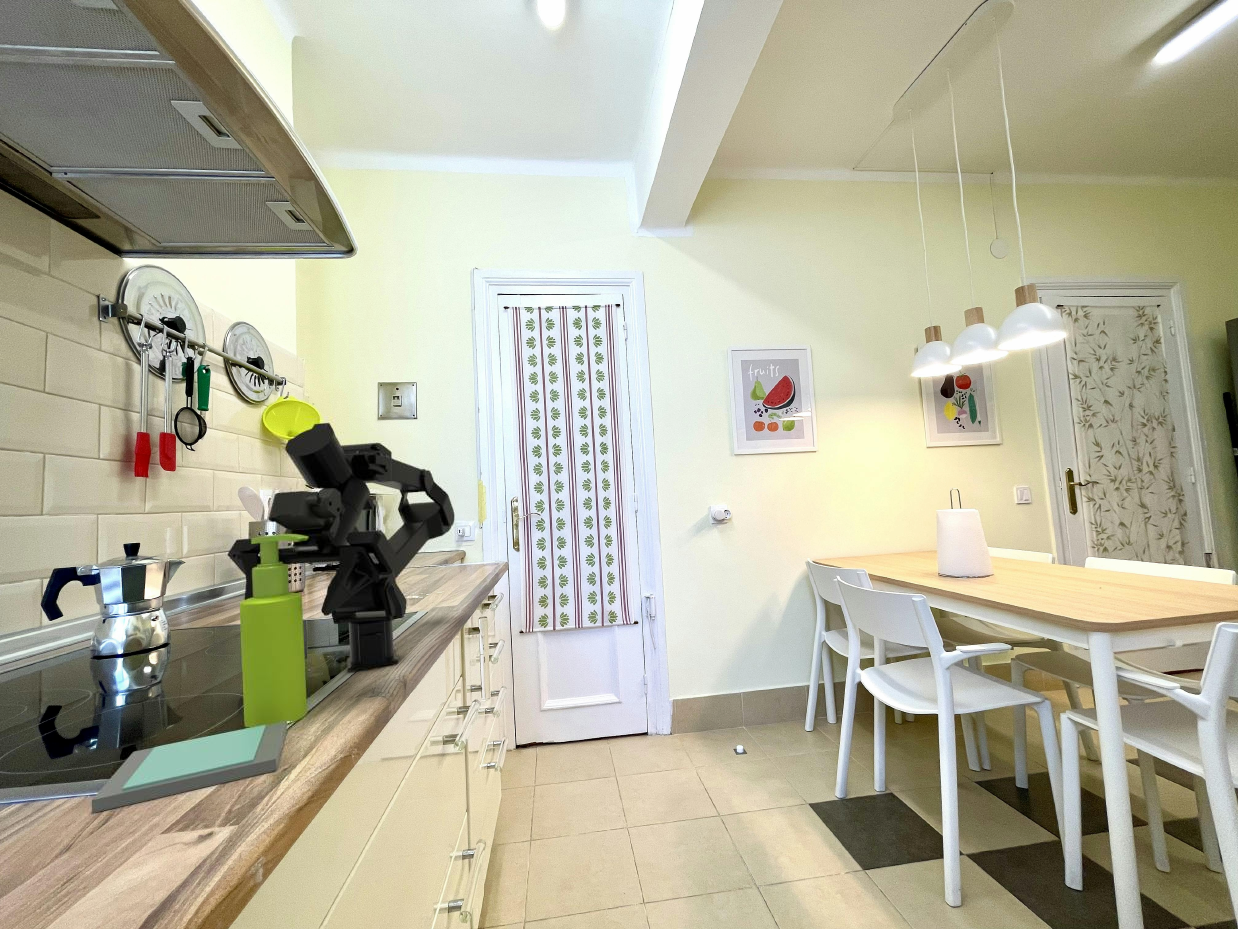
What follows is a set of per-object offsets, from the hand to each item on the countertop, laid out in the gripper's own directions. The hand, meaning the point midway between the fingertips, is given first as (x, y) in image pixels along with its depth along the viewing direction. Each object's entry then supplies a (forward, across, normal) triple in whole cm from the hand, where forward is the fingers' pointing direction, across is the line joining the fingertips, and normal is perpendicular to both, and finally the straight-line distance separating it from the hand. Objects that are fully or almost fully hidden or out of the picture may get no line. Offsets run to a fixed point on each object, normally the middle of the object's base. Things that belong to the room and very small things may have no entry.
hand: (285, 615), depth 66 cm
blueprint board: (+16, 0, -1) cm, 16 cm away
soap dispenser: (+9, 0, +7) cm, 11 cm away
